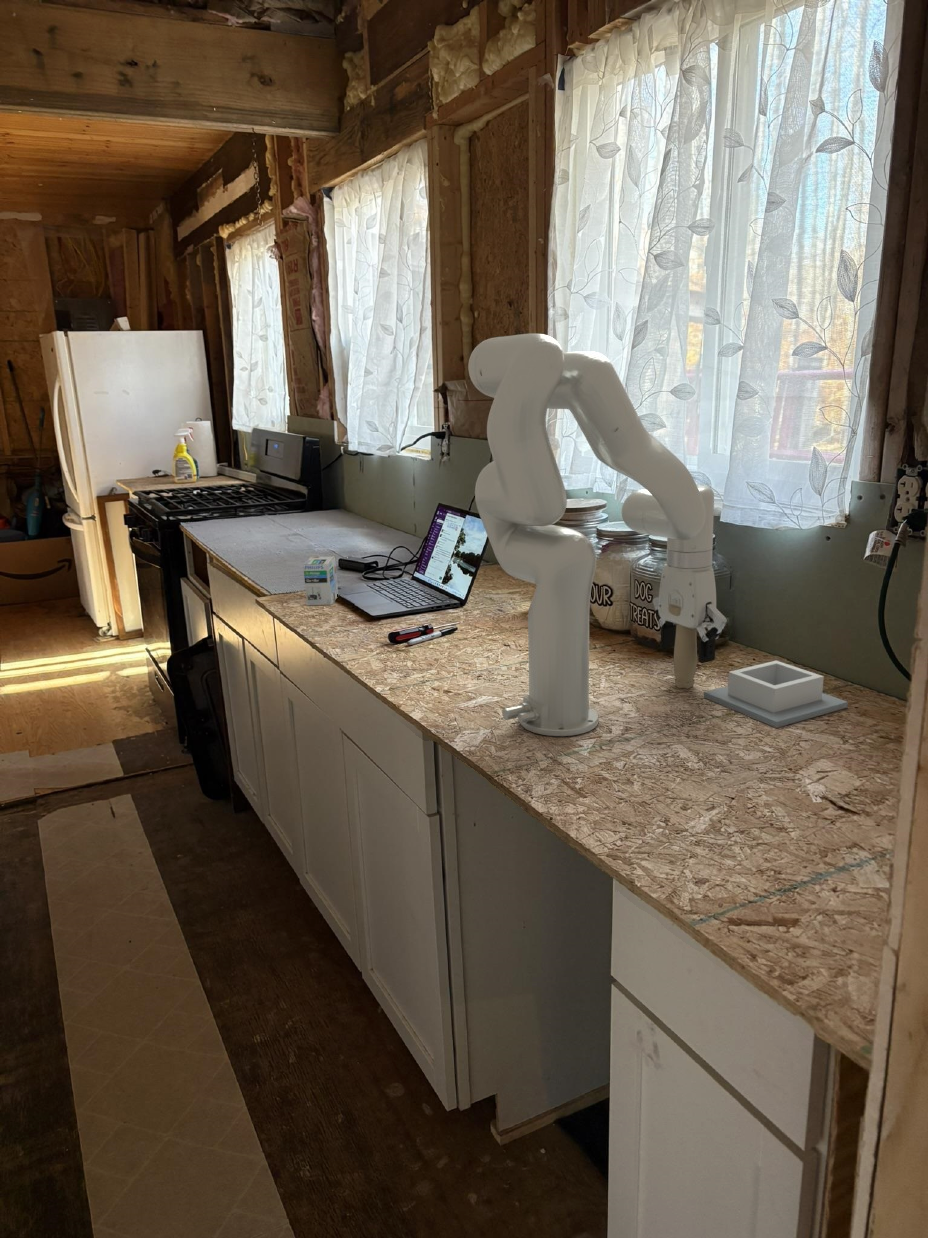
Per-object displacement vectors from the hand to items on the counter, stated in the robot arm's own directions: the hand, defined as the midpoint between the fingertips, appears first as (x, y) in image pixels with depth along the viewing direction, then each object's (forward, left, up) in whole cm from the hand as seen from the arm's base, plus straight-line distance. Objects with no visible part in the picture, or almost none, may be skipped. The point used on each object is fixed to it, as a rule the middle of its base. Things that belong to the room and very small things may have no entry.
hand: (686, 654), depth 153 cm
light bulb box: (-33, +99, -6) cm, 105 cm away
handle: (0, 0, -6) cm, 6 cm away
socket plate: (+7, -14, -6) cm, 17 cm away
